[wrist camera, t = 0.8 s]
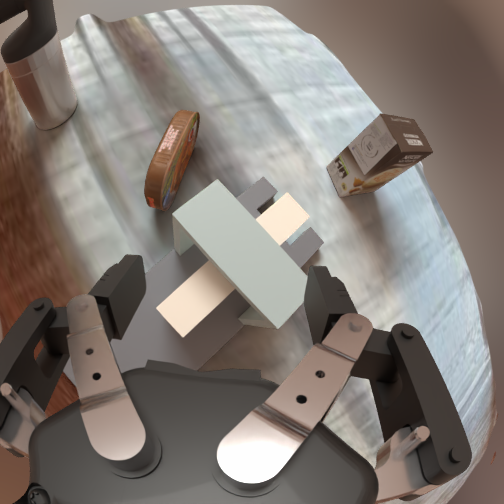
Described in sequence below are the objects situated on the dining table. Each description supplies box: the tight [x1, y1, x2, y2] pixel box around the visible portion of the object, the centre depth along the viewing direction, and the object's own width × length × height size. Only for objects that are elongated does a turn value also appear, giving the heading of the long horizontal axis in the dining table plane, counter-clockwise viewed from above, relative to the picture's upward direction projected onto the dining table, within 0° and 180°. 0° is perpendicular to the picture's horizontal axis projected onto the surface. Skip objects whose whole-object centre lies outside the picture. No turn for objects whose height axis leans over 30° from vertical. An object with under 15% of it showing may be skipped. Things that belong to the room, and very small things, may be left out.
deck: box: [63, 177, 324, 386], centre depth 33 cm, size 13×39×2 cm, turn 135°
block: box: [156, 192, 310, 337], centre depth 29 cm, size 3×17×10 cm, turn 135°
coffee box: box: [327, 114, 433, 197], centre depth 38 cm, size 9×6×16 cm
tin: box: [144, 110, 200, 211], centre depth 34 cm, size 15×3×8 cm, turn 167°
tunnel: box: [172, 179, 308, 329], centre depth 28 cm, size 13×5×13 cm, turn 45°
